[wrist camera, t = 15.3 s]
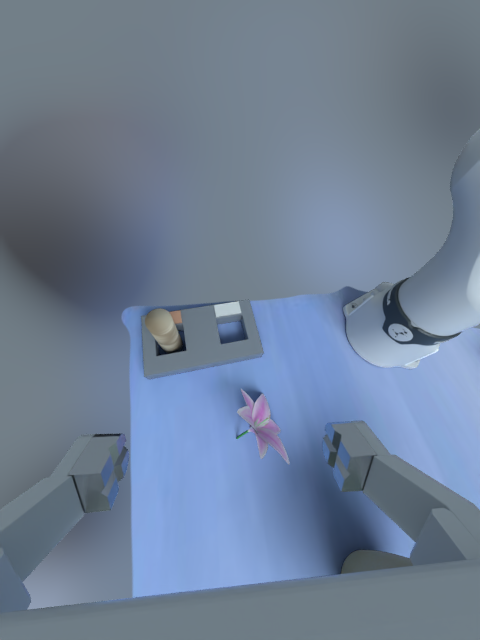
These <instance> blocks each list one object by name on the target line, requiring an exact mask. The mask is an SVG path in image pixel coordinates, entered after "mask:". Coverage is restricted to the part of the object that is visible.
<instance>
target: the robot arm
mask: <svg viewBox="0 0 480 640" xmlns="http://www.w3.org/2000/svg"><path fill="white" fill-rule="evenodd" d="M450 191H451V195H452V200H453V220H452V225H451V229H450V232H449V235H448V237H447V239H446V241H445V243H444V244H443V246H442V248H441V249H440V250H439V251H438V252H437V254H436V255H435V256H434V257H433V258H432V259H431V260H430V261H429V262H427V263H426V264H425V265H424V266H423V267H422V268H421V269H420V270H419V271H417V272H416V273H415V274H414V275H413V276H411V277H409V278H406V279H405V280H401V281H399V282H397V283H396V284H392V283H388V282H386V283H385V282H383V283H381V284H380V285H378V286H377V287H376V288H375V289H373V290H371V291H370V292H368V293H366V294H364V295H363V296H361V297H359V298H357V299H355V300H354V301H352V302H350V303H348V304H347V305H345V306H344V307H343V312H344V315H345V317H346V333H347V337H348V340H349V342H350V344H351V346H352V347H353V349H354V350H355V351H356V352H357V353H358V354H359V355H360V356H361V357H362V358H363V359H365V360H366V361H368V362H369V363H371V364H374V365H376V366H380V367H387V368H389V367H403V368H407V369H414V368H416V367H417V366H418V364H419V362H420V359H422V358H424V357H426V356H429V355H431V354H433V353H435V352H437V351H438V350H439V349H438V348H439V346H440V343H443V342H446V341H449V340H450V339H452V338H454V337H456V336H458V335H459V334H460V333H461V332H462V331H464V330H467V329H469V328H472V327H474V326H477V325H480V128H479V129H478V130H477V132H476V133H475V134H474V135H473V136H472V137H471V139H470V140H469V141H468V142H467V144H466V145H465V146H464V148H463V150H462V151H461V153H460V155H459V156H458V159H457V161H456V163H455V165H454V168H453V171H452V175H451V181H450ZM352 307H353V308H352ZM325 431H326V433H327V435H326V436H325V437H324V438H323V442H322V448H323V453H324V457H325V459H326V461H327V463H328V464H329V465H330V466H331V467H333V468H334V470H333V476H334V478H335V480H336V482H337V484H338V486H339V488H340V490H341V492H348V491H363V493H364V494H365V495H366V496H367V497H368V498H370V499H371V500H372V501H373V502H374V503H375V504H376V505H377V506H378V507H379V508H380V509H381V510H382V511H383V512H384V513H385V514H386V515H387V516H388V517H389V518H391V519H392V520H393V521H394V522H395V523H396V524H397V525H398V526H399V527H400V528H401V529H402V530H403V531H404V532H405V533H406V534H407V535H408V536H409V537H410V538H412V539H413V540H414V541H415V542H416V543H415V545H414V547H413V549H412V551H411V553H410V561H411V562H412V564H413V566H407V567H399V568H390V569H381V570H372V571H363V572H355V573H346V574H337V575H328V576H319V577H311V578H302V579H293V580H284V581H275V582H267V583H258V584H249V585H240V586H231V587H223V588H214V589H205V590H196V591H187V592H179V593H170V594H161V595H152V596H144V597H135V598H126V599H117V600H109V601H101V602H92V603H82V604H74V605H65V606H56V607H47V608H39V609H30V610H27V608H28V606H29V604H30V603H31V597H30V594H29V592H28V591H27V589H26V588H25V586H24V584H23V581H24V580H25V579H26V578H27V577H28V576H29V575H30V574H31V572H32V571H33V570H34V569H35V568H36V567H37V566H38V565H39V564H40V563H41V561H42V560H43V559H44V558H45V557H46V556H47V555H48V554H49V553H50V552H51V551H52V550H53V548H54V547H55V546H56V545H57V544H58V543H59V542H60V541H61V540H62V539H63V538H64V536H65V535H66V534H67V533H68V532H69V531H70V530H71V529H72V528H73V527H74V526H75V524H76V523H77V522H78V521H79V520H80V519H81V518H82V517H83V516H84V513H90V512H99V511H107V510H111V508H112V506H113V503H114V501H115V498H116V496H117V493H118V491H119V488H118V482H119V481H120V480H121V479H122V478H124V476H125V473H126V470H127V466H128V461H129V453H128V449H127V448H126V447H125V446H124V444H125V442H126V438H125V435H124V434H93V435H81V436H79V437H78V438H77V439H76V441H75V442H74V443H73V445H72V447H71V448H70V449H69V451H68V452H67V453H66V455H65V456H64V458H63V459H62V460H61V462H60V463H59V465H58V466H57V468H56V469H55V470H54V472H53V473H52V475H51V476H50V477H47V478H44V479H42V480H41V481H40V482H38V483H37V484H35V485H34V486H33V487H31V488H30V489H28V490H27V491H26V492H24V493H23V494H21V495H20V496H19V497H18V498H16V499H15V500H13V501H12V502H10V503H9V504H7V505H6V506H5V507H3V508H2V509H0V640H480V510H479V509H478V508H477V507H476V506H475V505H474V504H473V503H471V502H470V501H468V500H467V499H465V498H463V497H462V496H460V495H459V494H457V493H455V492H454V491H452V490H450V489H449V488H447V487H446V486H444V485H442V484H441V483H439V482H438V481H436V480H434V479H433V478H431V477H430V476H428V475H426V474H425V473H423V472H422V471H420V470H418V469H417V468H415V467H414V466H412V465H410V464H409V463H407V462H406V461H404V460H402V459H401V458H399V457H398V456H396V455H391V454H390V453H389V452H388V450H387V449H386V448H385V447H384V445H383V444H382V443H381V442H380V440H379V439H378V438H377V437H376V435H375V434H374V433H373V432H372V430H371V429H370V428H369V427H368V425H367V424H366V423H365V422H364V421H351V422H333V423H327V424H326V426H325Z"/></svg>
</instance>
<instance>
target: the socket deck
mask: <svg viewBox="0 0 480 640" xmlns="http://www.w3.org/2000/svg"><path fill="white" fill-rule="evenodd" d="M169 313H170V314H171V316H172V319H173V321H174V323H175V325H176V328H177V330H178V331H183V330H184V335H185V343H186V350H187V351H182V352H177V353H172V354H166V355H161V356H160V353H159V343H158V342H157V341H156V339H155V338H154V337H153V335H152V334H151V332H150V331H149V330H148V328H147V327H146V325H145V318H146V316H147V315H145V316H141V322H142V341H143V361H144V377H146V378H147V379H149V380H150V379H155V378H160V377H164V376H169V375H174V374H179V373H184V372H189V371H194V370H199V369H204V368H209V367H214V366H219V365H224V364H229V363H234V362H239V361H244V360H249V359H254V358H259V357H262V355H263V353H264V352H263V348H262V344H261V341H260V337H259V334H258V330H257V326H256V323H255V319H254V315H253V312H252V308H251V304H250V301H249V299H248V300H242V301H235V302H229V303H222V304H216V305H209V306H203V307H197V308H190V309H184V310H177V311H171V312H169ZM236 321H241V323H242V327H243V331H244V335H245V339H246V340H242V341H236V342H231V343H225V344H221V343H220V338H219V333H218V328H217V325H218V324H224V323H230V322H236Z"/></svg>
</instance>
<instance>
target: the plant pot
mask: <svg viewBox="0 0 480 640" xmlns="http://www.w3.org/2000/svg"><path fill="white" fill-rule="evenodd" d="M407 566H413V564H412V562H411V561H410V558H406V557H403V556H400V555H396V554H392V553H387V552H382V551H375V550H357V551H354V552H352V553H351V554H349V555H348V557H347V558H346V559H345V561H344V563H343V566H342V571H341V574H346V573H355V572H363V571H372V570H381V569H390V568H399V567H407Z"/></svg>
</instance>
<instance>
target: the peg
mask: <svg viewBox="0 0 480 640" xmlns="http://www.w3.org/2000/svg"><path fill="white" fill-rule="evenodd" d="M145 325H146V327H147V328H148V330H149V331H150V332H151V334H152V335H153V337H154V338H155V339H156V341H157V342H158V343H159V345H160V346H161V347H162V349H163V350H164V351H165V352H166V353H167V354H172V353H177V352H180V351H181V349H182V347H183V341H182V339H181V337H180V335H179V332H178V330H177V328H176V325H175V323H174V321H173V319H172V316H171V314H170V313H169V312H168V311H167V310H165V309H154V310H152V311H151V312H149V313H148V314H147V316H146V318H145Z"/></svg>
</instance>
